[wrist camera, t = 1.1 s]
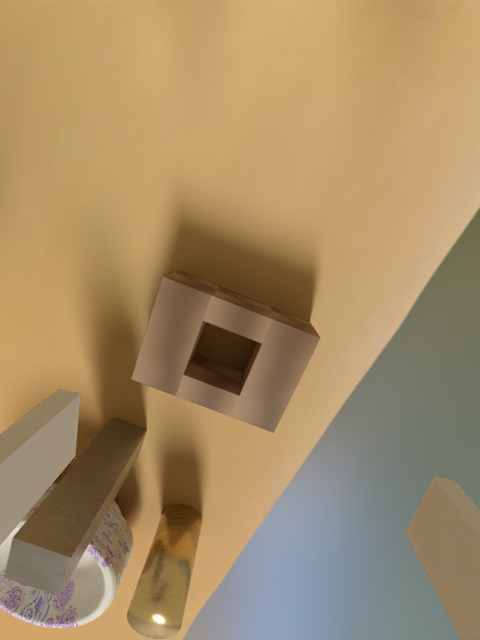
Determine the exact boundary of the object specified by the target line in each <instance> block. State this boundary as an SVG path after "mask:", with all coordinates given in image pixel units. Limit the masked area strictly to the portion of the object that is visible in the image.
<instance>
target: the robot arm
mask: <svg viewBox="0 0 480 640" xmlns="http://www.w3.org/2000/svg"><path fill="white" fill-rule="evenodd" d="M80 395H81V394H79V393H75V392H70V391H66V390H62V389H59V390H58V391H56V392H55V393H54V394H52V395H51V396H50V397H48V398H47V399H46V400H44V401H43V402H42V403H41V404H39V405H38V406H37V407H35V408H34V409H33V410H31V411H30V412H29V413H27V414H26V415H25V416H23V417H22V418H21V419H19V420H18V421H17V422H16V423H14V424H13V425H12V426H10V427H9V428H8V429H6V430H5V431H4V432H2V433H1V434H0V546H1V544H2V543H3V542H4V541H5V540H6V538H7V537H8V536H9V535H10V534H11V532H12V531H13V530H14V529H15V528H16V526H17V525H18V524H19V523H20V522H21V520H22V519H23V518H24V517H25V516H26V514H27V513H28V512H29V511H30V510H31V508H32V507H33V506H34V505H35V504H36V502H37V501H38V500H39V499H40V498H41V496H42V495H43V494H44V493H45V492H46V490H47V489H48V488H49V487H50V486H51V484H52V483H53V482H54V481H55V480H56V478H57V477H58V476H59V475H60V474H61V473H62V471H63V470H64V469H65V468H66V467H67V465H68V464H69V463H70V462H71V461H72V459H73V458H74V457H75V454H76V443H77V431H78V419H79V407H80ZM406 534H407V536H408V538H409V540H410V542H411V544H412V546H413V548H414V550H415V551H416V554H417V556H418V557H419V559H420V561H421V563H422V565H423V567H424V569H425V571H426V573H427V575H428V577H429V579H430V581H431V583H432V585H433V587H434V589H435V591H436V593H437V594H438V596H439V598H440V600H441V602H442V604H443V606H444V608H445V610H446V612H447V614H448V616H449V618H450V620H451V622H452V624H453V626H454V628H455V629H456V631H457V633H458V635H459V637H460V639H461V640H480V511H479V510H478V508H477V507H476V506H475V505H474V504H473V503H472V501H471V500H470V499H469V498H468V497H467V495H466V494H465V493H464V492H463V490H462V489H461V488H460V487H459V485H458V484H457V483H456V482H455V481H452V480H447V479H443V478H439V477H434V479H433V481H432V482H431V484H430V486H429V488H428V490H427V492H426V494H425V496H424V498H423V499H422V501H421V503H420V505H419V507H418V509H417V511H416V513H415V515H414V517H413V519H412V521H411V522H410V524H409V526H408V528H407V530H406Z"/></svg>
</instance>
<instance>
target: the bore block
mask: <svg viewBox="0 0 480 640" xmlns="http://www.w3.org/2000/svg"><path fill="white" fill-rule="evenodd" d="M206 323H210V324H213V325H215V326H218V327H220V328H223V329H226V330H228V331H231V332H233V333H236V334H238V335H241V336H244V337H246V338H249V339H251V340H254V341H255V344H254V346H253V348H252V351H251V353H250V355H249V358H248V360H247V362H246V365H245V367H244V370H243V372H241V371H239V370H236V369H234V368H231V367H228V366H226V365H223V364H220V363H218V362H215V361H213V360H210V359H207V358H205V357H202V356H199V355H197V354H195V353H196V350H197V348H198V345H199V342H200V339H201V337H202V334H203V331H204V328H205V326H206ZM319 340H320V337H319V335H318V334H317V332H316V331H315V329H314V328H313V326H312V324H311V323H310V322H308V321H306V320H303V319H301V318H298V317H296V316H293V315H290V314H288V313H285V312H283V311H280V310H278V309H275V308H273V307H270V306H268V305H265V304H262V303H260V302H257V301H255V300H252V299H250V298H247V297H245V296H242V295H239V294H237V293H234V292H232V291H229V290H227V289H224V288H222V287H219V286H217V285H214V284H211V283H209V282H206V281H204V280H201V279H199V278H196V277H194V276H191V275H188V274H186V273H183V272H181V271H177V272H174V273H171V274H169V275H166V276H163V277H162V281H161V284H160V287H159V290H158V294H157V297H156V300H155V303H154V307H153V310H152V313H151V316H150V320H149V323H148V326H147V329H146V333H145V336H144V339H143V342H142V346H141V349H140V352H139V355H138V359H137V362H136V365H135V368H134V372H133V375H132V378H131V379H132V380H134V381H137V382H140V383H142V384H145V385H148V386H150V387H153V388H156V389H158V390H161V391H164V392H166V393H169V394H172V395H174V396H177V397H180V398H182V399H185V400H188V401H190V402H193V403H196V404H198V405H201V406H204V407H206V408H209V409H212V410H214V411H217V412H220V413H222V414H225V415H228V416H230V417H233V418H236V419H238V420H241V421H244V422H246V423H249V424H252V425H254V426H257V427H260V428H262V429H265V430H268V431H270V432H273V433H274V431H275V429H276V427H277V425H278V423H279V421H280V419H281V417H282V415H283V413H284V411H285V409H286V407H287V405H288V403H289V401H290V399H291V397H292V395H293V393H294V391H295V389H296V387H297V385H298V383H299V381H300V379H301V377H302V374H303V372H304V370H305V368H306V366H307V364H308V362H309V360H310V358H311V356H312V354H313V352H314V350H315V348H316V346H317V344H318V342H319Z"/></svg>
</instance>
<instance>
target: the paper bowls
mask: <svg viewBox="0 0 480 640" xmlns="http://www.w3.org/2000/svg"><path fill="white" fill-rule="evenodd" d="M56 485H57V484H54V483H53V484H51V486H50V487H49V488H48V489H47V490H46V492H45V493H44V494H43V495H42V496H41V498H40V499H39V500H38V501H37V502H36V504H35V505H34V506H33V507H32V508H31V510H30V511H29V512H28V513H27V514H26V516H25V517H24V518H23V519H22V520H21V522H20V523H19V524H18V525H17V526H16V528H15V529H14V530H13V531H12V532H11V534H10V535H9V536H8V537H7V538H6V540H5V541H4V542H3V543H2V544H1V546H0V608H1V609H3V610H4V611H6V612H8V613H9V614H11V615H13V616H14V617H16V618H18V619H21V620H23V621H26V622H29V623H31V624H35V625H38V626H43V627H50V628H70V627H76V626H80V625H83V624H86V623H88V622H90V621H92V620H94V619H96V618H97V617H98V616H100V615H101V614H102V613H103V612H104V611H105V610H106V609H107V608H108V607H109V605H110V604H111V602H112V600H113V598H114V595H115V593H116V591H117V588H118V586H119V583H120V581H121V578H122V576H123V573H124V570H125V568H126V566H127V563H128V561H129V558H130V555H131V552H132V548H133V538H132V532H131V530H130V528H129V526H128V524H127V522H126V520H125V518H124V517H123V516H122V514H121V510H120V508H119V506H118V505H117V503H116V502H115V501H114V500H113V502H112V504H111V506H110V508H109V509H108V511H107V513H106V515H105V516H104V518H103V520H102V522H101V524H100V525H99V527H98V529H97V531H96V532H95V534H94V536H93V538H92V540H91V541H90V543H89V545H88V547H87V548H86V550H85V552H84V554H83V556H82V557H81V559H80V561H79V563H78V564H77V566H76V568H75V570H74V572H73V573H72V575H71V577H70V579H69V580H68V582H67V584H66V586H65V587H64V589H63V591H62V593H61V595H60V596H56V595H53V594H50V593H47V592H44V591H41V590H38V589H36V588H33V587H30V586H27V585H24V584H21V583H18V582H15V581H12V580H9V579H6V578H4V576H5V571H6V566H7V562H8V557H9V552H10V548H11V543H12V538H13V537H14V535H15V534H16V533H17V532H18V531H19V529H20V528H21V527H22V526H23V525H24V523H25V522H26V521H27V520H28V519H29V517H30V516H31V515H32V514H33V513H34V511H35V510H36V509H37V508H38V507H39V505H40V504H41V503H42V502H43V501H44V499H45V498H46V497H47V496H48V495H49V493H50V492H51V491H52V490H53V489H54V487H55V486H56Z"/></svg>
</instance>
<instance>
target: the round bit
mask: <svg viewBox="0 0 480 640" xmlns="http://www.w3.org/2000/svg"><path fill="white" fill-rule="evenodd" d="M201 525H202V519H201V517H200V515H199V513H198V512H197V511H196V510H195V509H193V508H191V507H189V506H187V505H182V504H177V505H172V506H170V507H168V508H166V509H165V510H164V512H163V514H162V517H161V519H160V522H159V525H158V528H157V531H156V534H155V536H154V539H153V542H152V545H151V548H150V551H149V553H148V556H147V559H146V562H145V565H144V567H143V570H142V573H141V576H140V579H139V582H138V584H137V587H136V590H135V593H134V596H133V599H132V601H131V604H130V607H129V610H128V613H127V619H128V622H129V624H130V626H131V627H132V628H133V629H134V630H135V631H136V632H138V633H139V634H141V635H143V636H146V637H149V638H153V639H165V638H169V637H172V636H174V635H175V634H177V633H178V632H179V630H180V628H181V624H182V619H183V615H184V610H185V605H186V600H187V595H188V590H189V585H190V580H191V575H192V570H193V565H194V560H195V555H196V550H197V545H198V540H199V535H200V530H201Z"/></svg>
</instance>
